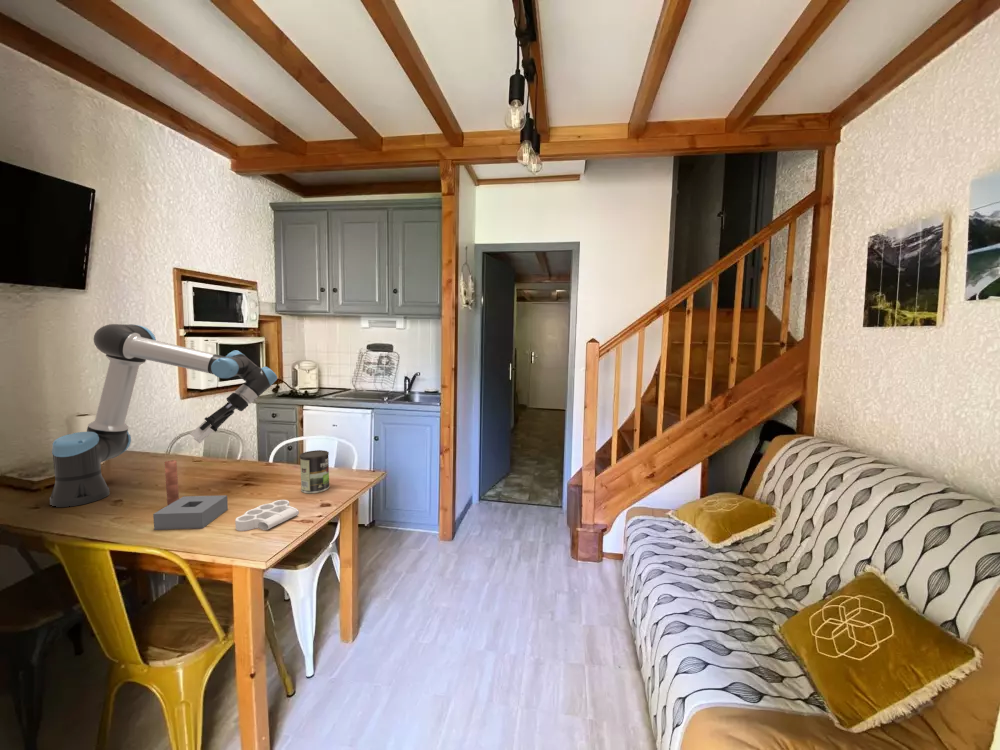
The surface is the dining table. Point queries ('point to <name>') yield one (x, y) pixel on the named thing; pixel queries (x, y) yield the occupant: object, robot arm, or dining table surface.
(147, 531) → the dining table surface
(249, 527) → the knuckle duster
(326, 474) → the coffee can
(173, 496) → the dowel
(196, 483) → the dining table surface
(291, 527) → the dining table surface
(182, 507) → the socket block
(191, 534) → the dining table surface
